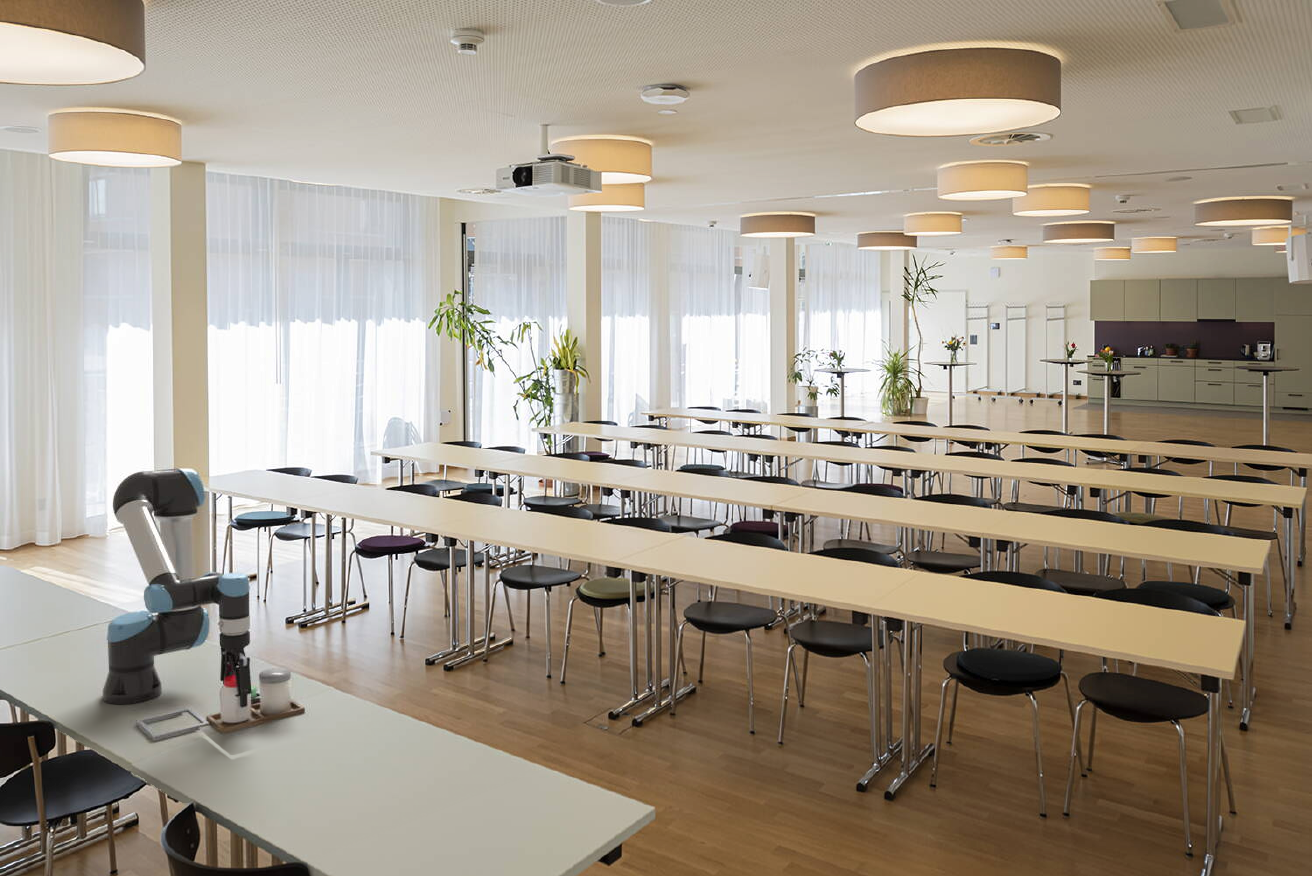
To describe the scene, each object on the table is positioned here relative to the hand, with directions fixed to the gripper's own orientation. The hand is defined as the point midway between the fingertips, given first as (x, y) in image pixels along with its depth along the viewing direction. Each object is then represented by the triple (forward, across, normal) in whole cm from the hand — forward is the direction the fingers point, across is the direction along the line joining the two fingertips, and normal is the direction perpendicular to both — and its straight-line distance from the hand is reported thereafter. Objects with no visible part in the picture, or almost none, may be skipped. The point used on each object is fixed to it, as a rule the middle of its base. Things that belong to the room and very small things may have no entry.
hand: (236, 712), depth 269 cm
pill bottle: (+1, 0, 0) cm, 1 cm away
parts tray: (+3, -9, -13) cm, 17 cm away
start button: (+2, -10, +8) cm, 13 cm away
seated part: (+2, 0, +11) cm, 11 cm away
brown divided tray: (+3, 0, +5) cm, 6 cm away
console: (+3, -10, +8) cm, 13 cm away
